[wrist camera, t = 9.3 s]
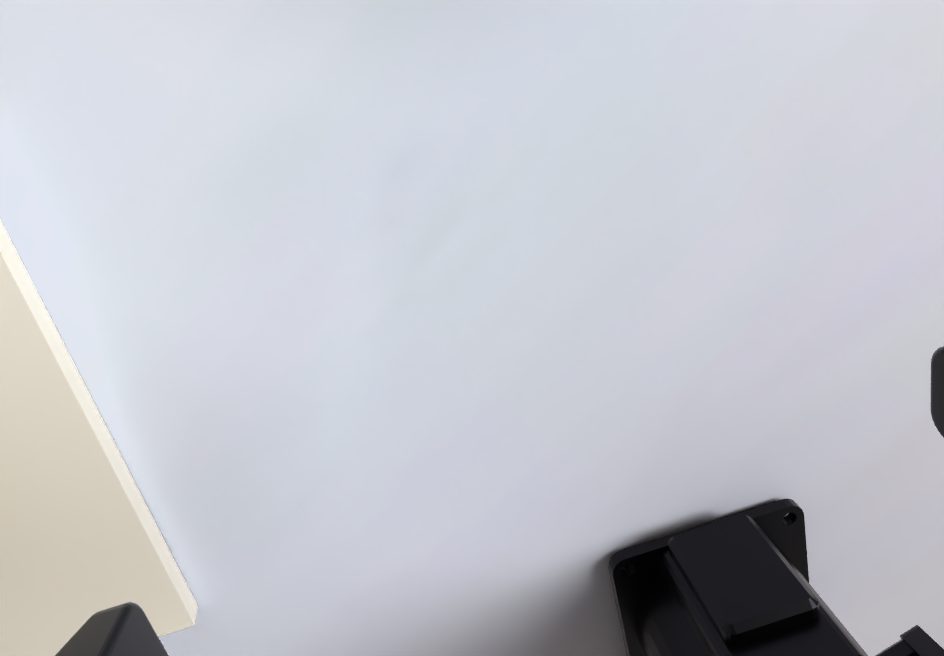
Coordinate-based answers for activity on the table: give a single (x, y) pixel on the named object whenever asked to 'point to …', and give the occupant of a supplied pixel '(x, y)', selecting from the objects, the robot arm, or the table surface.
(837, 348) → the table surface
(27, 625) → the building board
